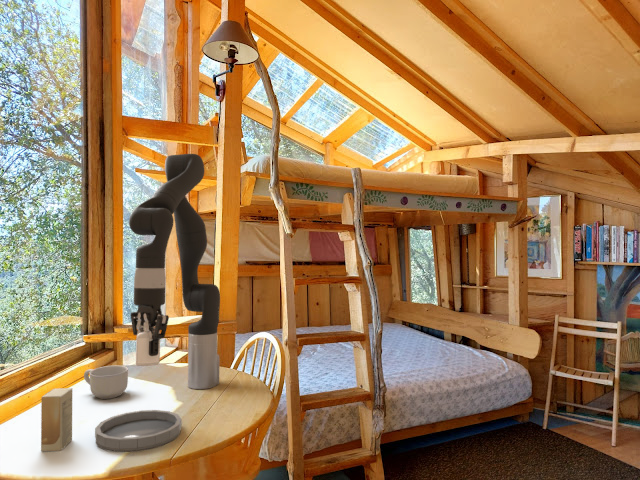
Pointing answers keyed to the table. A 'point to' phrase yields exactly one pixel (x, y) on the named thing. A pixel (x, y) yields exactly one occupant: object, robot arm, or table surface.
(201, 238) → the robot arm
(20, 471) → the table surface
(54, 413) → the skincare box
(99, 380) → the teacup
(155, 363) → the eye dropper bottle
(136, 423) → the round tray
